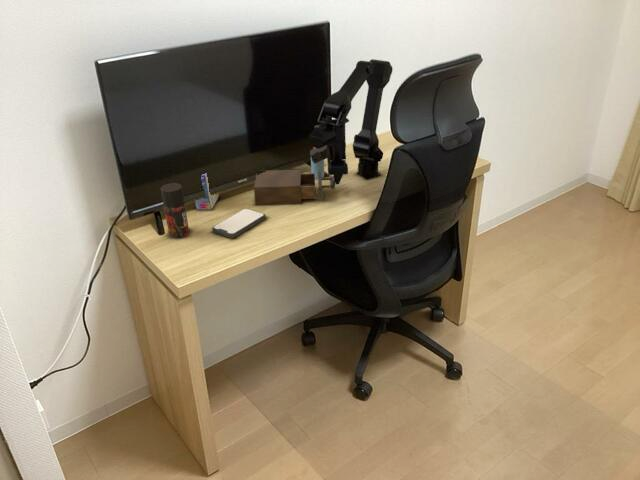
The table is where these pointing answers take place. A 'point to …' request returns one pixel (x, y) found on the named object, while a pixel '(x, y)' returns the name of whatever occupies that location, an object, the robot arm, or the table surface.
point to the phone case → (238, 223)
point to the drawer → (309, 185)
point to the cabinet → (278, 187)
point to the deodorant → (175, 210)
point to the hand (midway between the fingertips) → (337, 183)
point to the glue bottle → (317, 168)
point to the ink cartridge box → (206, 196)
